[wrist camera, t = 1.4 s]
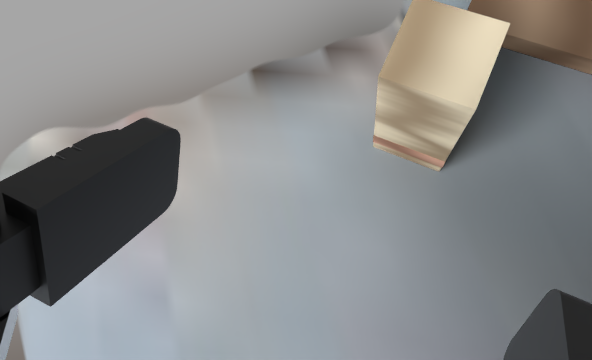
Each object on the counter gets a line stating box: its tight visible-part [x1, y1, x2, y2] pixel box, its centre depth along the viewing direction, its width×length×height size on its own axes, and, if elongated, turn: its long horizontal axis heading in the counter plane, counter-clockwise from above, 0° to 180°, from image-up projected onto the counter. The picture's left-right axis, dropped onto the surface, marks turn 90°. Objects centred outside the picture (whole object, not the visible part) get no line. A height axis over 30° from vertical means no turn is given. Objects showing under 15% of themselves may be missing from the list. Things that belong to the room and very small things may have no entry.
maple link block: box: [373, 0, 510, 171], centre depth 26 cm, size 5×5×10 cm
